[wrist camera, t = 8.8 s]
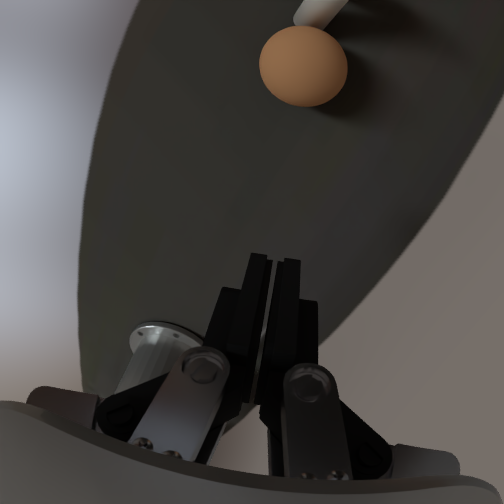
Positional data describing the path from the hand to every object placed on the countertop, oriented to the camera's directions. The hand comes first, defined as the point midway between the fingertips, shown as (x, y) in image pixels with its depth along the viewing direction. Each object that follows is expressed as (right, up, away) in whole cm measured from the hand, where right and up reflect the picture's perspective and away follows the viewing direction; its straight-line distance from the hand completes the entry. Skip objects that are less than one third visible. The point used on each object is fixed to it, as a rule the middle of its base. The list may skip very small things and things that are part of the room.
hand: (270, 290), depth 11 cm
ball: (+3, +14, +7) cm, 16 cm away
